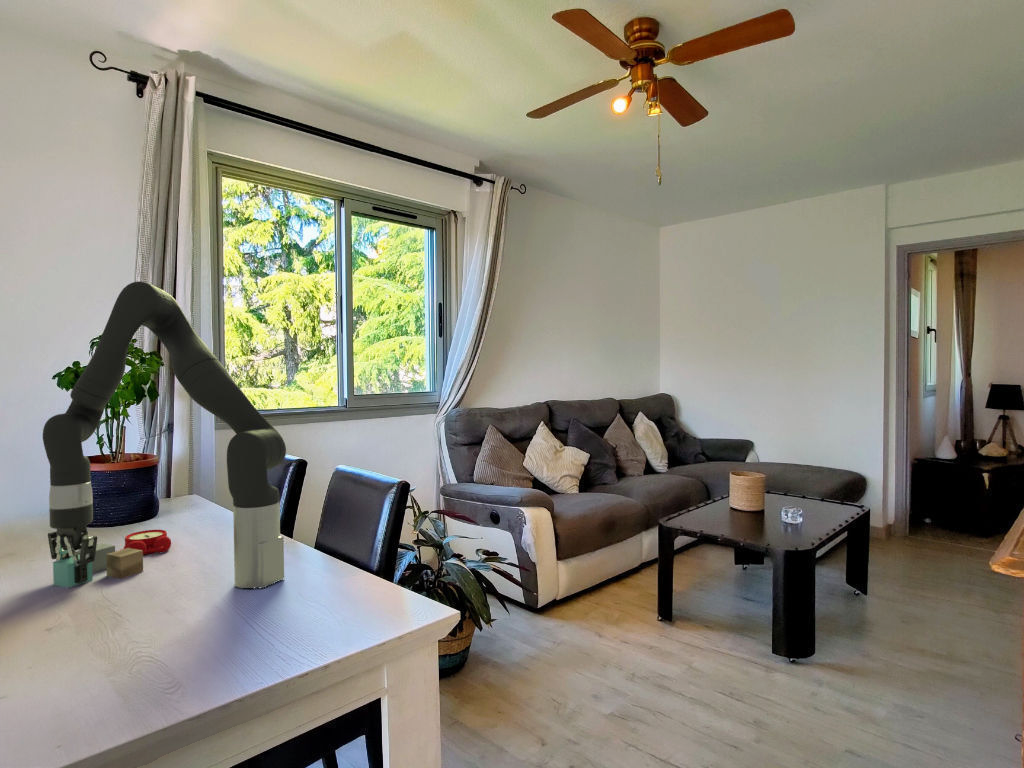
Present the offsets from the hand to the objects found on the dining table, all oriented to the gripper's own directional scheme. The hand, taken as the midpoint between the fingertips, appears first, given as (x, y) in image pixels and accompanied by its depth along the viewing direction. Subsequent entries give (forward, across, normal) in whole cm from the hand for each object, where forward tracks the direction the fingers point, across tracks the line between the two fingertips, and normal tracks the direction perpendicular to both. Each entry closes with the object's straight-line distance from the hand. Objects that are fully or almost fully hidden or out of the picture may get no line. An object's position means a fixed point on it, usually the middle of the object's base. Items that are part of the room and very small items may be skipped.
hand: (73, 580), depth 124 cm
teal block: (0, 0, 0) cm, 0 cm away
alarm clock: (+1, +7, -21) cm, 22 cm away
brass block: (+1, -5, -8) cm, 9 cm away
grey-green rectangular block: (+1, +5, -8) cm, 9 cm away
